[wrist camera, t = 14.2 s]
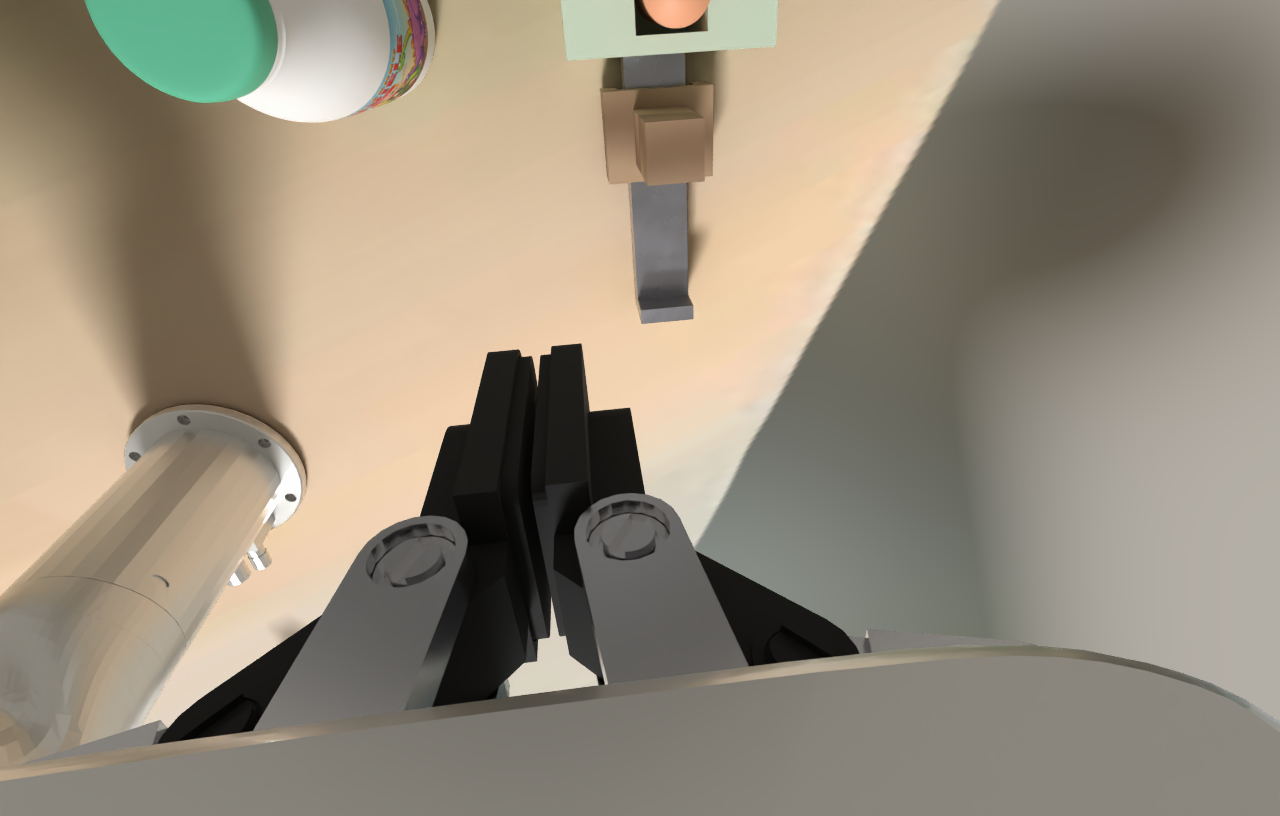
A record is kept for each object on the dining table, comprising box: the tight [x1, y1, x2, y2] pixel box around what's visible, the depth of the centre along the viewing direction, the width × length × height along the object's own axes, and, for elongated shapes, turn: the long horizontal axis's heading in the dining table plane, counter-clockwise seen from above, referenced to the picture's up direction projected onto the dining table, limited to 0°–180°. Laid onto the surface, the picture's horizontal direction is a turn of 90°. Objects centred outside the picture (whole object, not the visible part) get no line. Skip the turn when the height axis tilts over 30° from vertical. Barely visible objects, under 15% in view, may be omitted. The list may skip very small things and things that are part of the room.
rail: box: [620, 53, 693, 324], centre depth 38 cm, size 16×4×4 cm, turn 3°
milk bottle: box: [85, 0, 435, 122], centre depth 25 cm, size 8×8×20 cm
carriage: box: [600, 81, 713, 186], centre depth 34 cm, size 5×6×9 cm
